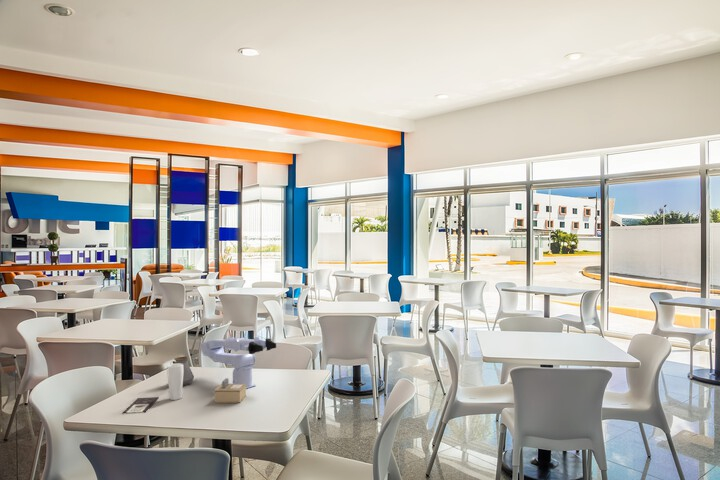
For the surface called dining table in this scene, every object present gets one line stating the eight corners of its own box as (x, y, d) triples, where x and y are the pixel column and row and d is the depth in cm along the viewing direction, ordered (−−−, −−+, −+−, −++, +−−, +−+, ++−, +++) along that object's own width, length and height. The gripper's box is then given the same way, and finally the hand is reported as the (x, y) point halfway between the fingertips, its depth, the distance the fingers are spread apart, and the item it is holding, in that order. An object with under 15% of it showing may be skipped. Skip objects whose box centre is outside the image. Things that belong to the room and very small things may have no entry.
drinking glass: (187, 397, 213) (186, 364, 213) (175, 401, 207) (175, 367, 207) (176, 395, 216) (175, 362, 216) (164, 399, 210) (163, 366, 210)
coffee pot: (173, 381, 239) (172, 351, 239) (196, 380, 240) (196, 350, 240) (159, 394, 217) (159, 362, 218) (185, 393, 219) (185, 361, 219)
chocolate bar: (158, 397, 212) (145, 411, 194) (158, 399, 212) (145, 413, 194) (137, 398, 211) (122, 412, 193) (137, 400, 211) (122, 414, 193)
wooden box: (215, 402, 205) (214, 391, 205) (222, 396, 214) (222, 385, 214) (239, 402, 204) (239, 391, 204) (245, 396, 213) (245, 385, 213)
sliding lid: (214, 391, 205) (214, 383, 205) (221, 384, 214) (221, 377, 214) (240, 391, 204) (239, 383, 204) (246, 384, 214) (246, 377, 214)
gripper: (237, 339, 219) (255, 340, 211) (262, 334, 230) (280, 335, 222) (238, 354, 219) (256, 356, 210) (263, 349, 230) (281, 350, 221)
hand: (269, 347), depth 216 cm, fingers open, 7 cm apart
